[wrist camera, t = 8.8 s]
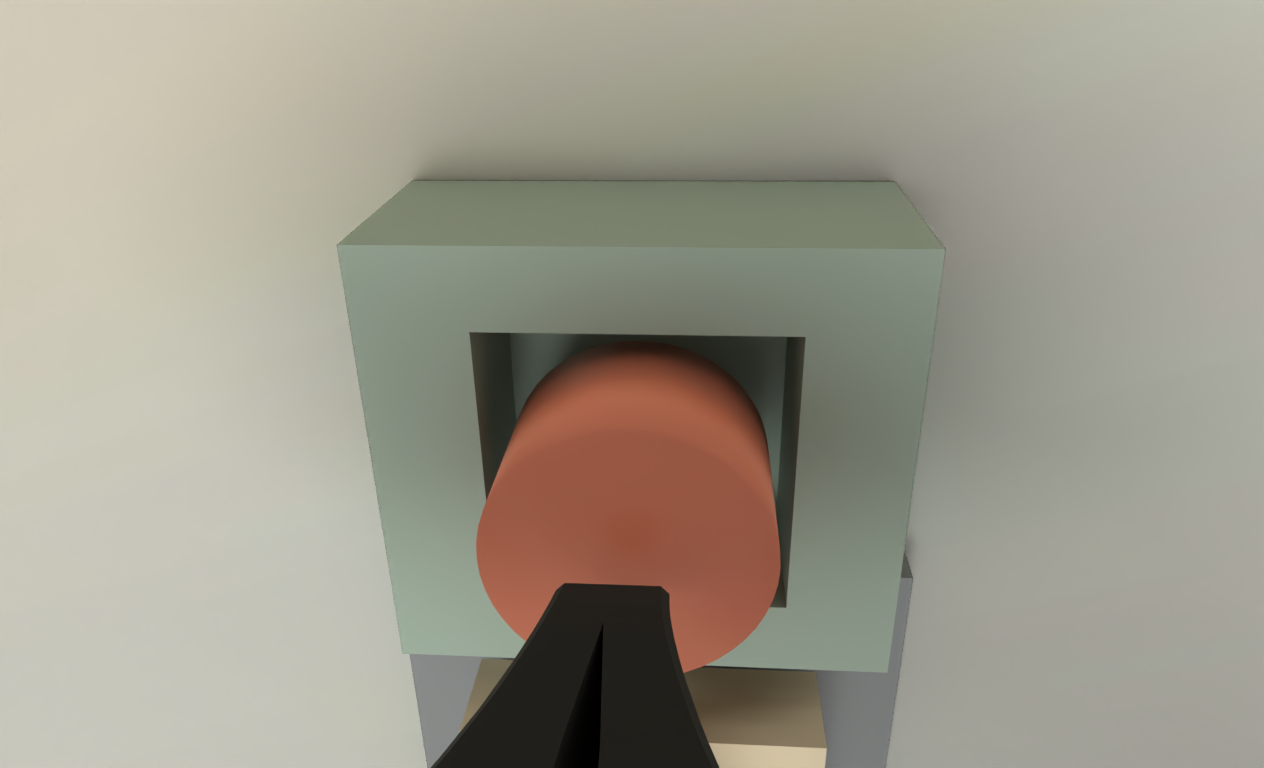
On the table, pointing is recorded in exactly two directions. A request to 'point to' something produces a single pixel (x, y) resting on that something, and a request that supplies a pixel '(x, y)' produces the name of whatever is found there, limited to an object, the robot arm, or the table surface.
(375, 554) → the table surface
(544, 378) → the button
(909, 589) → the track
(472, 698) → the carriage
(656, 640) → the robot arm
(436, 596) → the green button housing
